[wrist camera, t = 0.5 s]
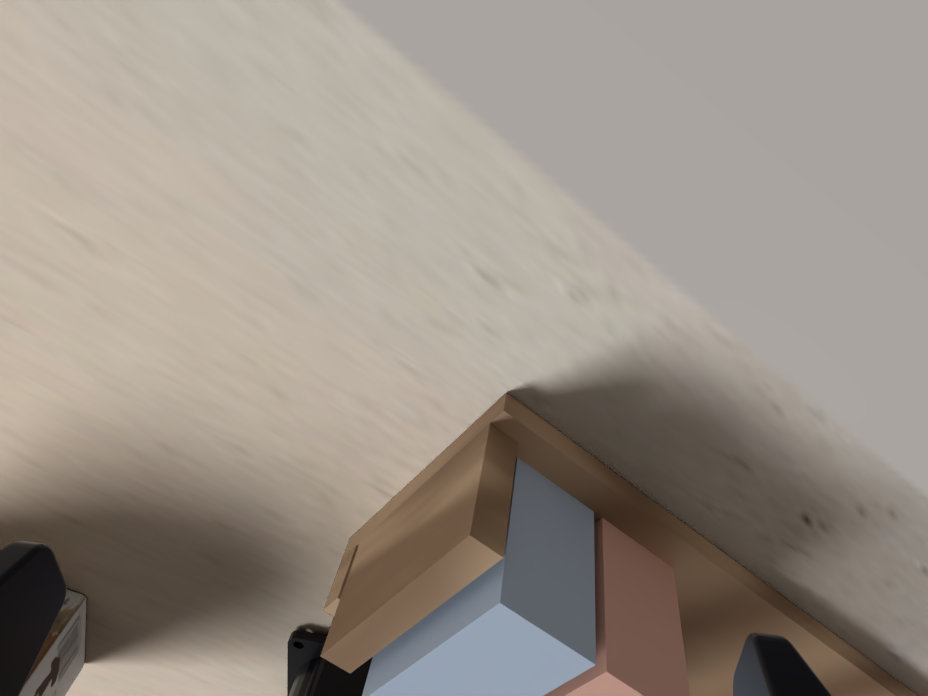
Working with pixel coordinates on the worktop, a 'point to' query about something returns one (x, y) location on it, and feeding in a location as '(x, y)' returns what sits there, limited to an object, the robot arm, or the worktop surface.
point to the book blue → (508, 610)
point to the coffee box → (60, 651)
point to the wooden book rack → (610, 497)
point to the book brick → (632, 623)
